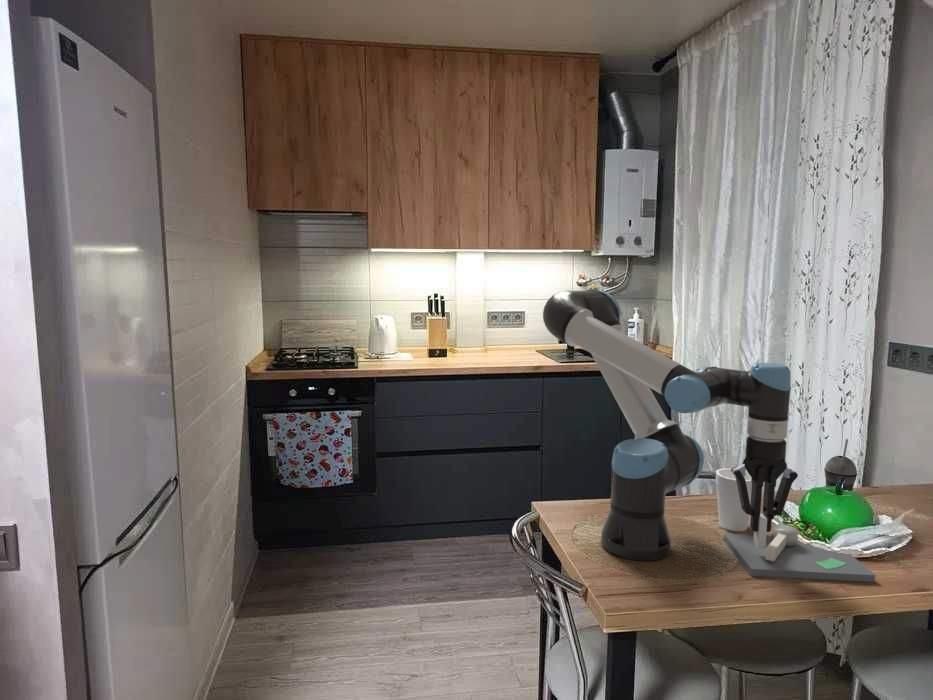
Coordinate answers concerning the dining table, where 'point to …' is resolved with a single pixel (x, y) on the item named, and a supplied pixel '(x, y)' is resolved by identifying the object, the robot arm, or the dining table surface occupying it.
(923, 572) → the dining table surface
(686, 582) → the dining table surface
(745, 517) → the foam cup
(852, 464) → the beverage cup
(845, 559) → the board
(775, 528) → the white knobbed bar
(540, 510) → the dining table surface
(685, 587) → the dining table surface
